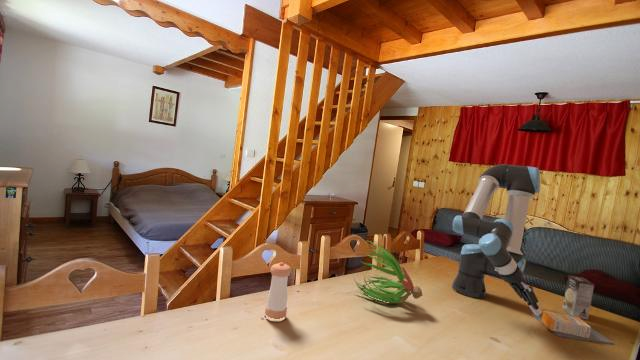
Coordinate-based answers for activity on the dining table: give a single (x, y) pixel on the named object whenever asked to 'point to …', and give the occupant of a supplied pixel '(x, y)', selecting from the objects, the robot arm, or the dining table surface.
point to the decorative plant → (400, 285)
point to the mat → (593, 336)
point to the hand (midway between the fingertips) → (538, 313)
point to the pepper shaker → (278, 291)
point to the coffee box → (578, 296)
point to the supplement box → (566, 324)
